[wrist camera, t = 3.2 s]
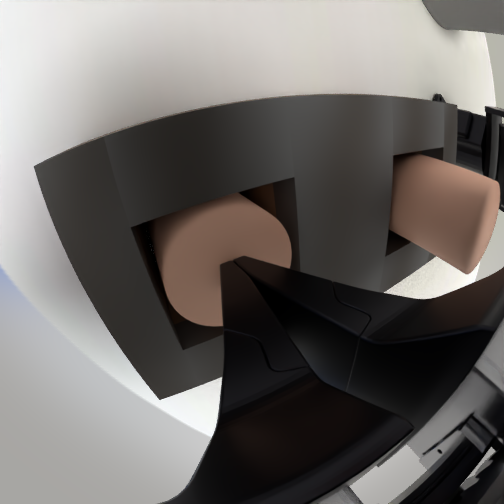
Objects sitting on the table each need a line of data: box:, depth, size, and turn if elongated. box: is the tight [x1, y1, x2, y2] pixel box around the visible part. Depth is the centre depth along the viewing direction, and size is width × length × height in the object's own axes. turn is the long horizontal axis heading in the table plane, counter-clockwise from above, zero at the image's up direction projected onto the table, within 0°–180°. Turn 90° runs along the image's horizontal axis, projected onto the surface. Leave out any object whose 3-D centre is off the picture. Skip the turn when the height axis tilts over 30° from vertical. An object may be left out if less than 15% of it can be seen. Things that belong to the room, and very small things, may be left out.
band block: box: [34, 94, 457, 400], centre depth 13 cm, size 19×10×7 cm, turn 99°
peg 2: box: [389, 152, 500, 274], centre depth 11 cm, size 4×4×6 cm
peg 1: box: [146, 192, 292, 326], centre depth 11 cm, size 4×4×6 cm
